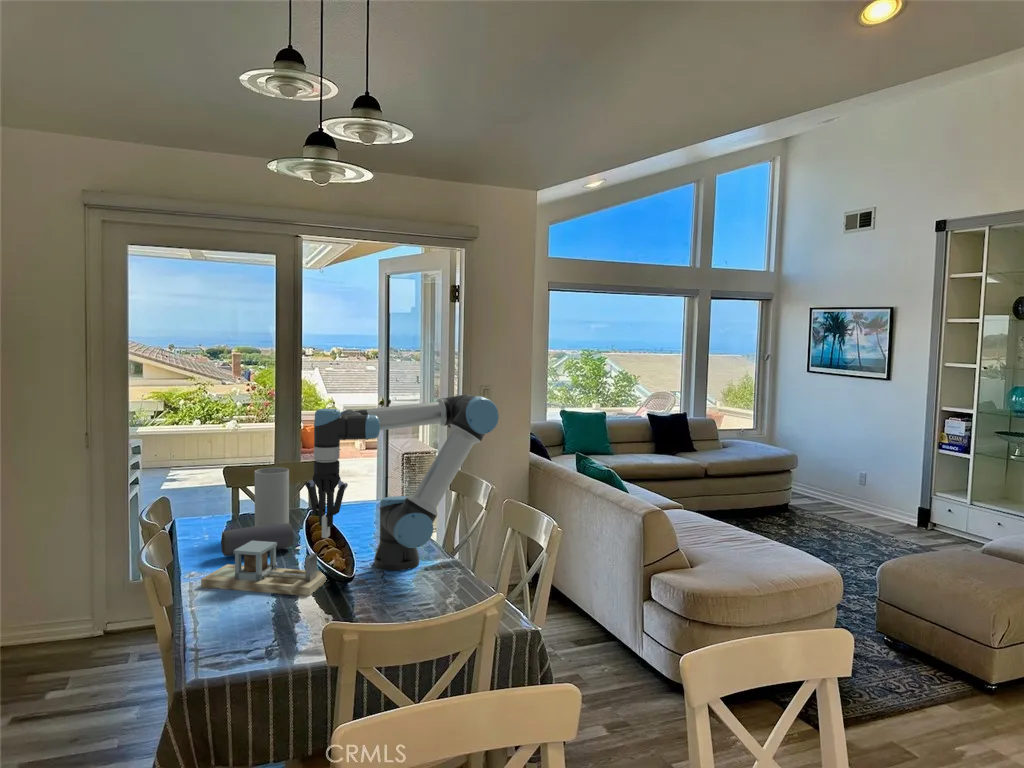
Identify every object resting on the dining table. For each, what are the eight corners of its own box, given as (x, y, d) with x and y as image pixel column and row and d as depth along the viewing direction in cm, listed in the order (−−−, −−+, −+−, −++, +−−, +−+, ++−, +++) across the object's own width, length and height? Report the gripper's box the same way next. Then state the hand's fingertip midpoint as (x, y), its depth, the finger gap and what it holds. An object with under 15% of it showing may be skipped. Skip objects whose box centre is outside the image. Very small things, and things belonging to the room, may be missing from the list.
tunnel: (277, 570, 214) (277, 542, 213) (260, 581, 204) (260, 552, 203) (252, 568, 215) (251, 540, 215) (233, 579, 205) (233, 550, 204)
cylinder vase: (295, 533, 263) (295, 470, 261) (268, 540, 253) (268, 475, 251) (274, 528, 270) (274, 466, 268) (247, 535, 259) (247, 471, 258)
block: (267, 569, 212) (267, 552, 211) (259, 574, 207) (259, 557, 206) (252, 568, 212) (252, 551, 212) (244, 573, 207) (244, 556, 207)
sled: (318, 574, 210) (318, 552, 209) (308, 582, 203) (308, 559, 203) (248, 569, 213) (247, 547, 213) (236, 576, 207) (236, 554, 207)
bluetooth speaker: (287, 545, 248) (287, 518, 247) (294, 552, 240) (294, 524, 239) (220, 555, 235) (220, 527, 234) (225, 563, 227) (225, 533, 227)
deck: (329, 579, 213) (329, 571, 213) (309, 595, 200) (309, 587, 199) (227, 571, 219) (227, 563, 218) (201, 587, 205) (201, 578, 205)
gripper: (352, 459, 206) (350, 534, 208) (311, 456, 208) (311, 531, 210) (342, 463, 199) (341, 541, 200) (300, 461, 201) (300, 538, 202)
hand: (325, 536), depth 205 cm, fingers closed
